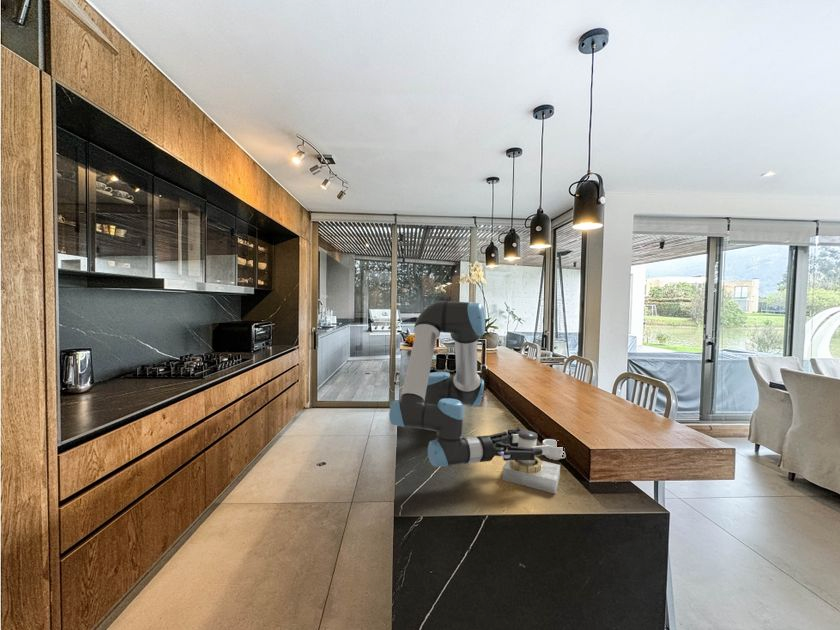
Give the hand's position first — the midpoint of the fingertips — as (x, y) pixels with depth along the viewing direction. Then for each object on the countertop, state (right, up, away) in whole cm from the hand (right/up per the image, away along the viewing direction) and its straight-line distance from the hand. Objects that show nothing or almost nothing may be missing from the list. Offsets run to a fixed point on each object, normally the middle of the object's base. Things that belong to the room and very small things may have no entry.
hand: (538, 443), depth 119 cm
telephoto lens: (-4, -6, -1) cm, 8 cm away
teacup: (+10, -11, +14) cm, 21 cm away
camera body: (-3, -11, -2) cm, 11 cm away
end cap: (0, -10, +21) cm, 24 cm away
